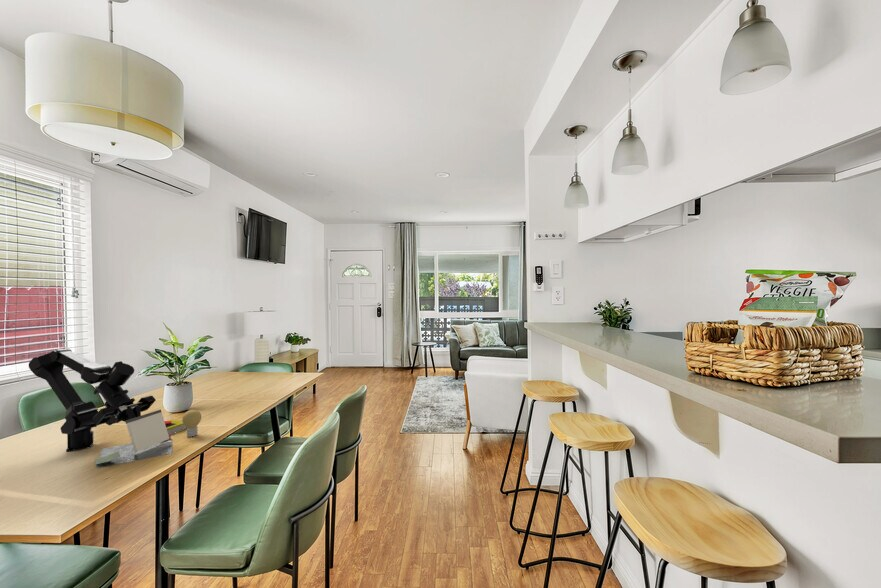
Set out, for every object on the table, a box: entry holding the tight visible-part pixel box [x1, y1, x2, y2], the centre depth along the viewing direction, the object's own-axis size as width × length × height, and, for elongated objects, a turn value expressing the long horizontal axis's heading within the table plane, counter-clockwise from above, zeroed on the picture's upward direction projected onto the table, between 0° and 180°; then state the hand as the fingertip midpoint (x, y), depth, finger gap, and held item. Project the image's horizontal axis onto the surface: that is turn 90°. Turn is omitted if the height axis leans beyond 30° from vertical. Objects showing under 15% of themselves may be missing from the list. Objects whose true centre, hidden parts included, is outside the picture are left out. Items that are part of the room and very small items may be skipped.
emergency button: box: [164, 419, 187, 435], centre depth 162 cm, size 9×4×15 cm
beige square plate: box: [124, 409, 169, 453], centre depth 139 cm, size 1×12×11 cm, turn 167°
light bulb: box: [181, 409, 202, 438], centre depth 156 cm, size 6×6×10 cm
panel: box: [94, 433, 173, 469], centre depth 139 cm, size 20×20×2 cm
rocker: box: [93, 451, 120, 465], centre depth 129 cm, size 5×4×2 cm
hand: (139, 427), depth 139 cm, fingers closed
